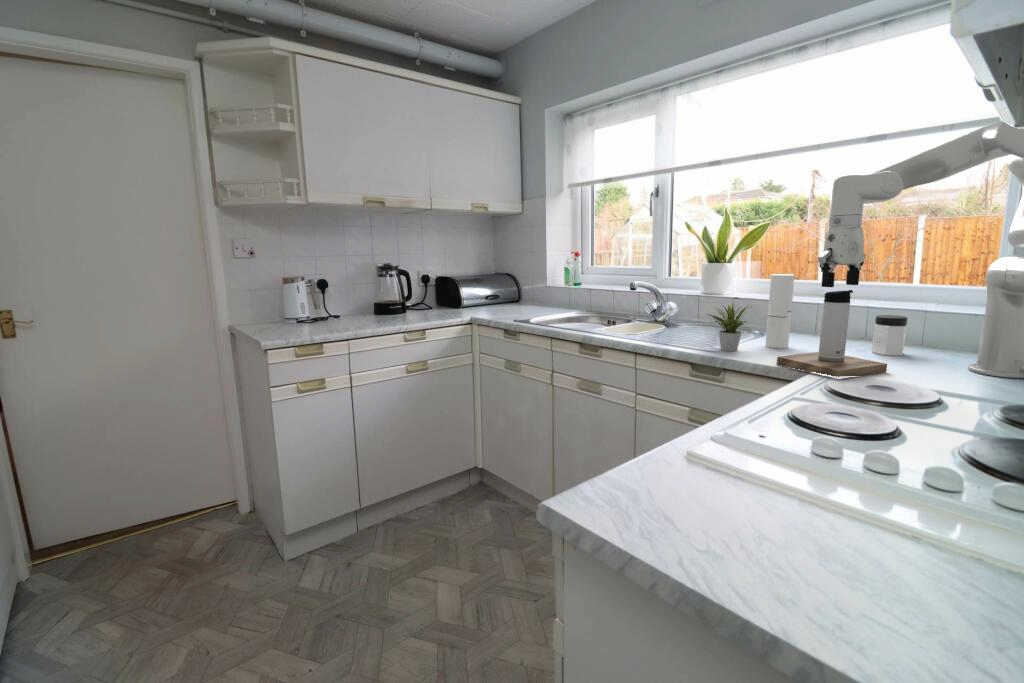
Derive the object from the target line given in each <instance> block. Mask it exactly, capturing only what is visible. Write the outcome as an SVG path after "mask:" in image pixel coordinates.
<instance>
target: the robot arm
mask: <svg viewBox="0 0 1024 683" xmlns="http://www.w3.org/2000/svg"><path fill="white" fill-rule="evenodd" d="M1003 121H1004V120H1002V121H1001V120H1000V121H999V122H995V123H993V124H992V123H991V124H988V125H985V126H983V127H980V128H978V129H975V130H973V131H971V132H970V131H969V133H966V134H963V135H961V136H958V137H956V138H954V139H951V140H948V141H947V142H944V143H942V144H939V145H937V146H935V147H932V148H929V149H927V150H924V151H922V152H920V153H917V154H916V155H914V156H910V157H909V158H907V159H905V160H902V161H899V162H897V163H895V164H892V165H890V166H887V167H885V168H882V169H880V170H876V171H875V172H872V173H870V174H869V173H868V174H856V173H855V174H845V175H839V176H837V177H835V178H834V179H833V180H832V182H831V188H830V189H831V190H830V202H829V204H830V205H829V215H828V216H829V217H828V218H829V219H828V227H827V228H828V229H827V233H826V238H825V241H824V246H823V248H824V249H823V253H821V254H820V255H818V257H817V260H818V263H819V265H818V266H819V268H820V272H821V273H822V274H821V287H822V288H834V286H835V278H836V277H835V275H836V272H834V271H835V270H836V268H837V266H838V265H839V266H846V267H847V268H848V270H847V271H846V279H845V285H846V286H858V285H859V283H860V272H861V271H862V266H863V265H864V263H865V259H866V257H867V254H866V253H865V250H864V249H865V238H864V228H863V227H862V223H863V215H864V214H863V211H864V205H866V204H867V205H868V204H869V205H870V204H874V203H881V202H886V201H890V200H893V199H894V198H896V197H897V196H899V195H900V194H901V193H902V192H903V191H905V190H908V189H910V188H914V187H918V186H922V185H926V184H931V183H934V182H938V181H941V180H944V179H947V178H950V177H952V176H955V175H956V174H959V173H961V172H962V173H963V172H964V171H967V170H969V169H972V168H974V167H978V166H979V165H982V164H984V163H987V162H989V161H993V160H995V159H999V158H1003V157H1006V166H1007V168H1008V170H1009V171H1010V172H1011V173H1012V174H1013V175H1014V176H1015V178H1017V180H1018V182H1019V183H1020V185H1021V190H1022V192H1021V196H1020V197H1021V198H1020V201H1019V203H1018V207H1017V209H1016V211H1015V214H1014V217H1013V220H1012V222H1011V225H1010V227H1009V230H1008V233H1007V234H1008V235H1007V241H1008V243H1009V244H1010V245H1011V246H1012V247H1014V249H1015V248H1016V249H1018V250H1024V129H1017V128H1014V127H1012V126H1010V125H1008V124H1006V123H1005V122H1003ZM985 283H986V284H985V285H986V304H985V311H984V318H983V322H982V323H983V324H982V329H981V333H980V334H981V336H980V340H979V348H978V353H977V360H976V363H970V364H969V365H968V370H969V371H971V372H974V373H977V374H981V375H986V376H992V377H999V378H1011V379H1024V254H1011V255H1010V254H1009V255H1005V256H1001V257H1000V258H997V259H996V260H994V261H993V262H992V263H991V264H990V265H989V267H988V268H987V270H986V276H985Z"/></svg>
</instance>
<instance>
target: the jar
mask: <svg viewBox="0 0 1024 683" xmlns="http://www.w3.org/2000/svg"><path fill="white" fill-rule="evenodd" d="M908 319H909V318H908V317H907V316H904V315H895V314H894V315H893V314H879V315H876V316H875V320H874V322H875V323H874V328H873V337H872V338H873V339H872V344H871V345H872V346H871V353H873V354H876V355H877V354H878V355H883V356H902V355H903V354H904V350H905V340H906V333H907V327H908V325H907V324H908Z"/></svg>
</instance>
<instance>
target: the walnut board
mask: <svg viewBox="0 0 1024 683" xmlns="http://www.w3.org/2000/svg"><path fill="white" fill-rule="evenodd" d="M818 355H819V351H813V352H805V353H797V354H789V355H782V356H781V355H780V356H777V357H776V365H777V364H778V365H777V366H779V365H782V366H781V367H783V366H787V367H790V368H789V369H791V368H795V369H800V370H804V371H807V372H806V373H808V372H816V373H821V374H827V375H831V376H838V377H839V376H861V377H866V376H872V375H874V376H875V375H879V374H886V373H887V371H888V370H887V369H888V363H886V362H880V361H876V360H870V359H864V358H861V357H856V356H855V357H854V356H850V355H844V361H842V362H827V361H822V360H820V359H818ZM787 367H786V368H787ZM795 369H794V370H795ZM800 370H799V371H800ZM804 371H803V372H804Z"/></svg>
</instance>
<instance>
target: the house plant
mask: <svg viewBox="0 0 1024 683" xmlns="http://www.w3.org/2000/svg"><path fill="white" fill-rule="evenodd" d="M721 306H722V308H724V309H725V312H726V314H725V312H724V311H723V310H722V309H720V308H718V307H714V306H713V309H714V310H716V311H717V312H718V313H719V314H720V315H721V316H722V318H721V317H719V316H716V315H712V314H706V315H707V316H709V317H712V318H711V319H712V320H713V319H714V321H711V322H710V324H713V323H718V324H719V325H720V326H721V327H722V328H723V329H722V330H719V331H718V335H719V345H720V350H721V351H725V352H737V351H738V348H739V345H740V340H741V336H742V331H739V330H738V328H740V327H741V326H744V325H745V326H746V324H747V322H746V320H741V319H742V316H743V314H744V313H745V311H746V310H748V308H751V307H752V305H749V306H746V307H745V306H744V305H742V306H739V308H737V310H736V311H735V306H734V303H732V306H730V305H729V304H727V308H726V307H725V305H723V304H722V303H721ZM710 307H712V306H710ZM743 307H744V308H743ZM741 308H743V309H741ZM740 309H741V310H740ZM739 310H740V312H739V313H738V311H739ZM737 313H738V315H737Z"/></svg>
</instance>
